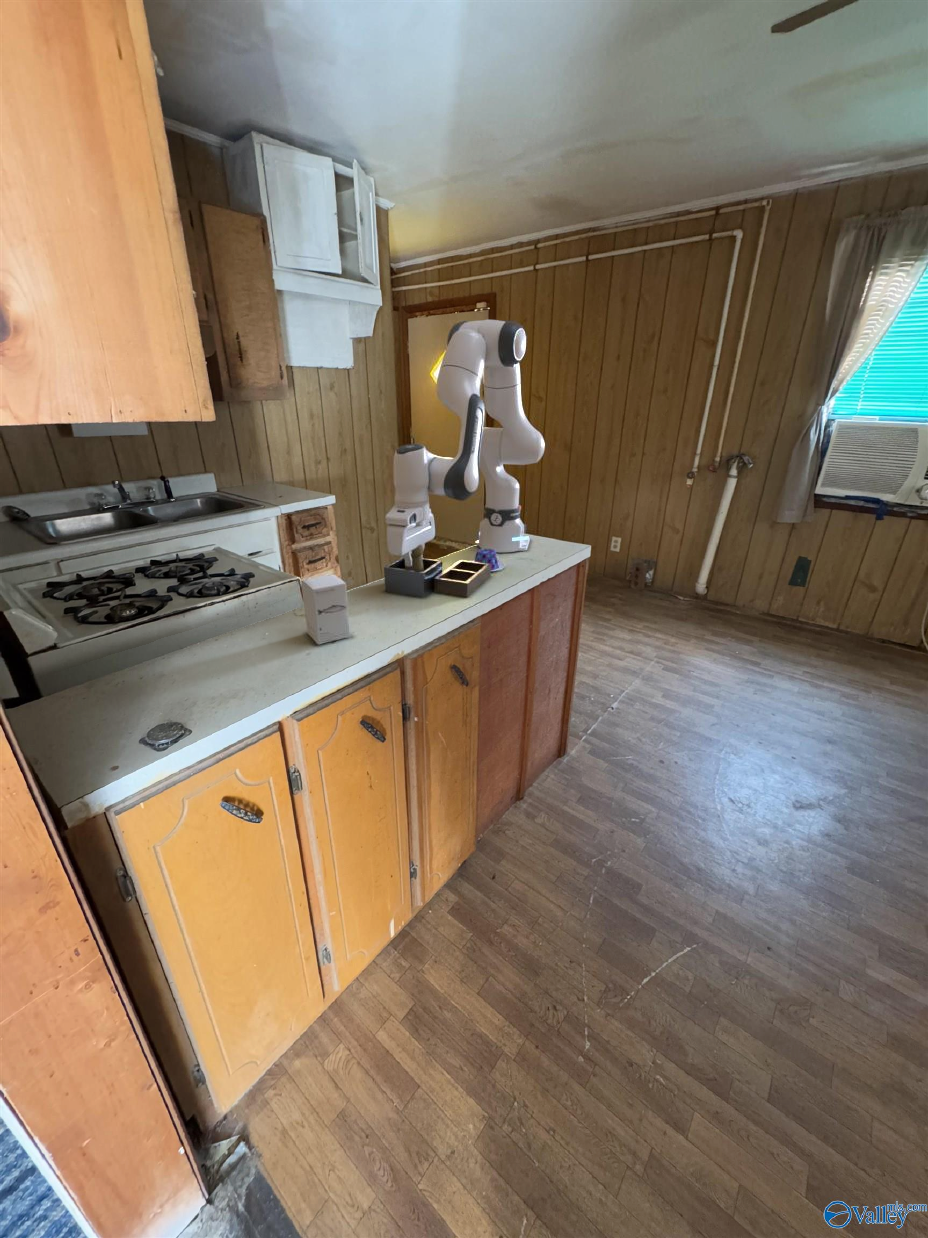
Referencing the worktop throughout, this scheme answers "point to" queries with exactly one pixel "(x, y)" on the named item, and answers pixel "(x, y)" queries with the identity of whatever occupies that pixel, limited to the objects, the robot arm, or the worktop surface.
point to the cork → (416, 560)
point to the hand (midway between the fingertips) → (413, 563)
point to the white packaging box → (326, 608)
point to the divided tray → (462, 578)
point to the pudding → (489, 559)
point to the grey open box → (411, 578)
